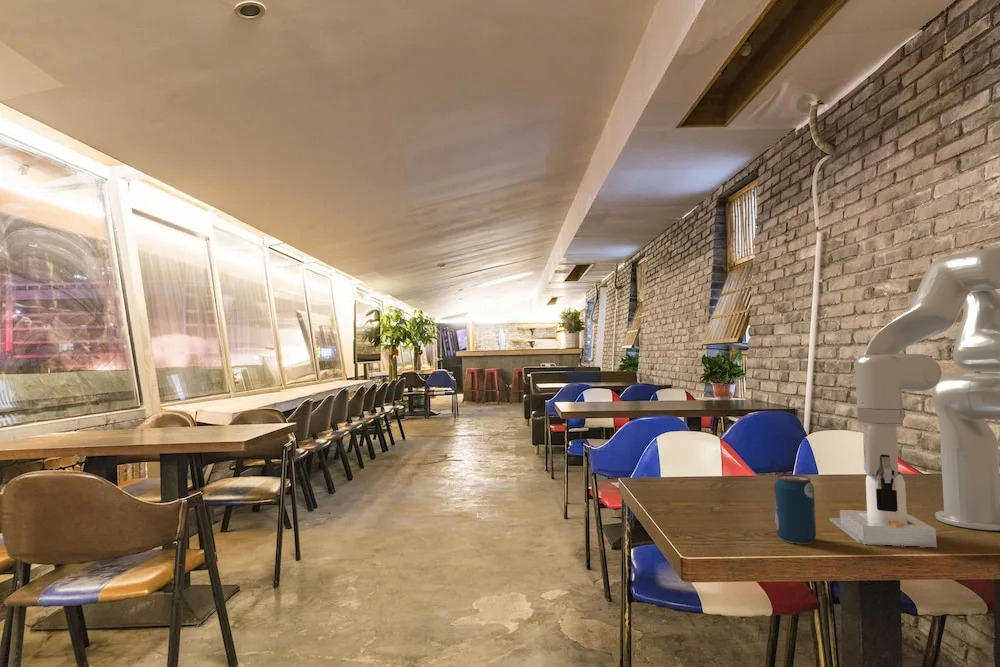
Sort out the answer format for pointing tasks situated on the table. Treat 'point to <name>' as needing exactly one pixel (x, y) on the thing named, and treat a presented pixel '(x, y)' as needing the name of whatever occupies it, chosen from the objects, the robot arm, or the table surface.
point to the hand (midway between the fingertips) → (884, 505)
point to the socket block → (885, 530)
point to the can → (886, 516)
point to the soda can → (794, 509)
